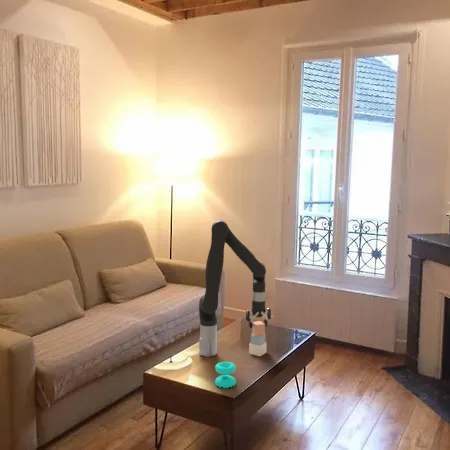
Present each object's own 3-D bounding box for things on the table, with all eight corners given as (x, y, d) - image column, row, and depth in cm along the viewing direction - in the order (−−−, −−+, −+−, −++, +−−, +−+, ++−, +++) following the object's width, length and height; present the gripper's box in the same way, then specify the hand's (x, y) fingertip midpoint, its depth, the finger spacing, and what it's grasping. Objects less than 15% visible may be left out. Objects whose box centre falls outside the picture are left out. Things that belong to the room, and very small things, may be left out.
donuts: (219, 359, 241) (238, 362, 238) (219, 378, 242) (238, 382, 239) (211, 367, 232) (231, 370, 228) (211, 387, 233) (231, 390, 230)
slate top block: (259, 345, 271) (260, 336, 270) (250, 343, 274) (250, 334, 273) (265, 342, 275) (265, 333, 275) (256, 340, 279) (256, 331, 278)
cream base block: (259, 356, 271) (259, 346, 270) (249, 353, 275) (249, 343, 274) (266, 352, 276) (266, 342, 275) (255, 349, 280) (255, 339, 280)
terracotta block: (255, 336, 271) (255, 325, 270) (251, 333, 276) (251, 322, 275) (264, 335, 272) (264, 323, 272) (260, 332, 278) (260, 321, 277)
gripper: (249, 301, 266) (248, 330, 268) (273, 299, 270) (272, 328, 272) (244, 298, 273) (243, 326, 275) (267, 296, 277) (267, 324, 279)
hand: (258, 327), depth 274 cm, fingers open, 8 cm apart
